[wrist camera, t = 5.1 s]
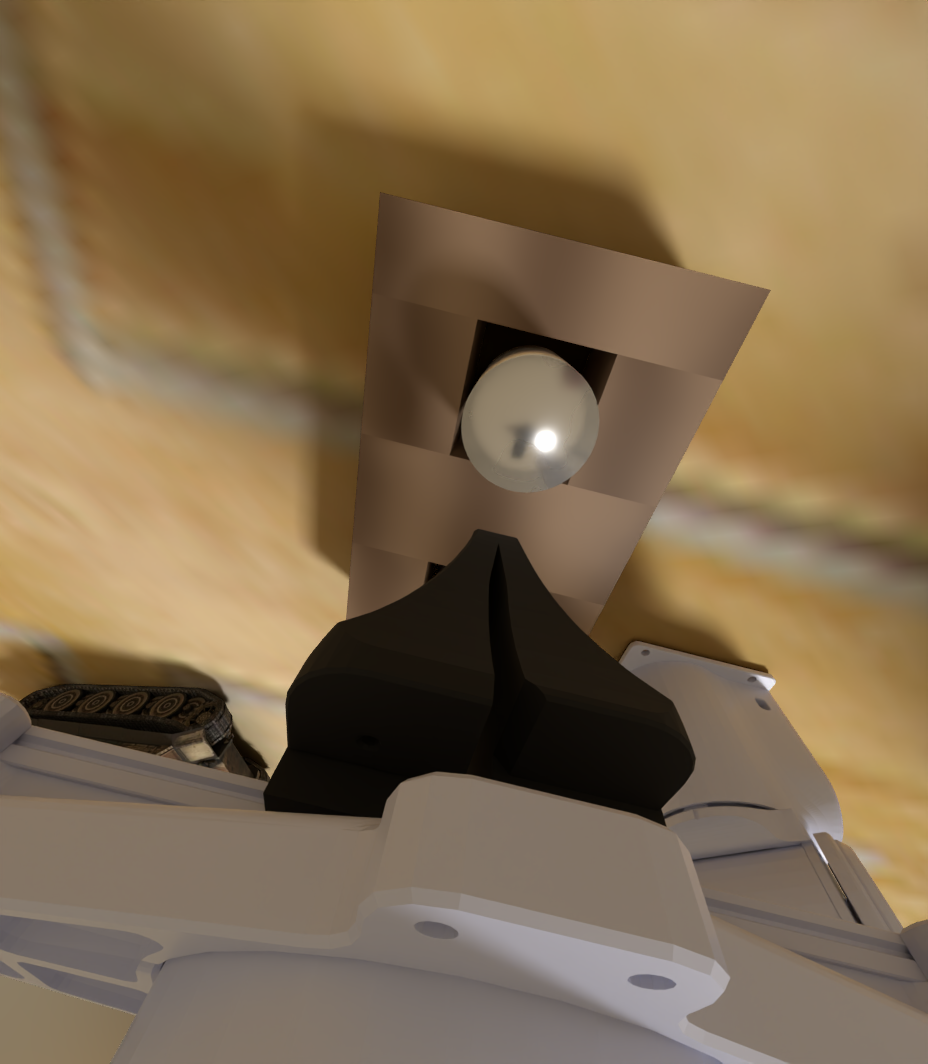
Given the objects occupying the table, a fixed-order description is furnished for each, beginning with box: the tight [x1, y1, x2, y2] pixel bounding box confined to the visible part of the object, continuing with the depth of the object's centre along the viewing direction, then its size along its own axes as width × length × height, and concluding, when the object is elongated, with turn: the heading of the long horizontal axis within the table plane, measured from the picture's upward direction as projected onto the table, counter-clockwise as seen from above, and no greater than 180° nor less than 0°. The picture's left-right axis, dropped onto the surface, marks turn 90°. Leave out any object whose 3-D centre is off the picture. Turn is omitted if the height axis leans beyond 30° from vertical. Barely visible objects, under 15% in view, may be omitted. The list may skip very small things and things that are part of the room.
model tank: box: [20, 684, 270, 782], centre depth 31 cm, size 13×22×15 cm, turn 96°
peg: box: [461, 345, 599, 493], centre depth 13 cm, size 4×4×5 cm
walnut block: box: [346, 192, 770, 636], centre depth 19 cm, size 12×20×5 cm, turn 168°
